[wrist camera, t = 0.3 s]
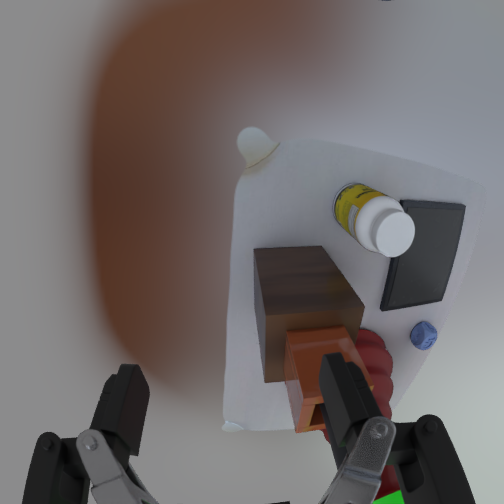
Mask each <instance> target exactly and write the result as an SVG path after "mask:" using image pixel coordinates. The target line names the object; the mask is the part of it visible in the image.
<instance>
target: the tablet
mask: <svg viewBox="0 0 504 504" xmlns="http://www.w3.org/2000/svg"><path fill="white" fill-rule="evenodd" d="M400 205H401V206H402V208H403V210H404V213H406V214H408V215H409V216H410V217H411V219H412V220H413V223H414V226H415V235H414V239H413V241H412V244H411V245H410V247H409V248H408V249H407V250H406V251H405V252H404V253H403V254H401V255H399V256H397V257H391V262H390V267H389V271H388V276H387V281H386V285H385V289H384V293H383V297H382V301H381V305H380V309H381V311H388V310H395V309H401V308H406V307H412V306H418V305H423V304H428V303H433V302H438V301H442V299H443V296H444V293H445V290H446V287H447V284H448V280H449V277H450V274H451V270H452V267H453V263H454V259H455V256H456V252H457V248H458V243H459V239H460V235H461V230H462V225H463V220H464V214H465V208H466V206H465V205H463V204H455V203H443V202H430V201H414V200H400Z"/></svg>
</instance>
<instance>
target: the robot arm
mask: <svg viewBox="0 0 504 504" xmlns="http://www.w3.org/2000/svg"><path fill="white" fill-rule="evenodd" d="M319 387H320V391H321V394H322V397H323V400H324V403H325V407H326V410H327V413H328V416H329V419H330V423H331V426H332V429H333V432H334V436H335V439H336V442H337V445H338V447H342V446H346V448H347V451H348V452H347V454H346V456H345V458H344V460H343V462H342V464H341V466H340V468H339V470H338V472H337V474H336V476H335V477H334V479H333V481H332V483H331V485H330V486H329V488H328V489H327V491H326V493H325V494H324V495H323V497H322V499H321V500H320V502H319V503H318V504H372V503H373V501H374V499H375V497H376V495H377V492H378V490H379V488H380V485H381V482H382V479H381V474H382V472H383V469H384V466H385V465H393V466H394V470H395V473H396V476H397V480H398V483H399V486H400V490H401V493H402V497H403V501H404V504H476V503H475V500H474V497H473V494H472V492H471V489H470V486H469V483H468V481H467V478H466V475H465V473H464V470H463V467H462V465H461V463H460V460H459V458H458V455H457V453H456V451H455V448H454V446H453V444H452V441H451V440H450V437H449V435H448V433H447V430H446V428H445V426H444V424H443V422H442V421H441V419H440V418H439V417H437V416H435V415H430V414H429V415H424V416H422V417H420V418H419V419H418V420H417V422H410V423H395V422H392V421H391V420H390V419H388V418H386V417H384V416H383V414H382V413H381V411H380V408H379V406H378V404H377V402H376V400H375V397H374V395H373V393H372V391H371V389H370V387H369V385H368V383H367V380H365V376H364V374H363V372H362V370H361V368H360V367H359V366H357V365H356V364H355V363H354V362H353V361H351V362H345V360H344V357H343V355H342V353H341V352H335V353H329V354H324V355H323V356H322V361H321V367H320V372H319ZM149 396H150V392H149V386H148V384H147V381H146V379H145V377H144V375H143V373H142V371H141V368H140V367H139V365H137V364H121V366H120V368H119V371H118V373H117V375H116V374H112V375H111V376H110V378H109V379H108V380H107V381H106V383H105V385H104V388H103V391H102V394H101V396H100V401H99V402H98V405H97V408H96V410H95V414H94V417H93V420H92V423H91V426H90V428H89V430H85V431H83V432H82V433H80V435H79V436H78V437H76V438H62V439H60V438H59V437H58V436H57V435H56V434H54V433H52V432H45V433H43V434H42V435H40V437H39V438H38V440H37V443H36V446H35V449H34V453H33V456H32V460H31V464H30V468H29V472H28V476H27V480H26V485H25V490H24V495H23V501H22V504H87V502H88V494H89V486H90V480H91V482H92V484H93V487H92V488H91V492H92V495H93V497H94V499H95V501H96V503H97V504H159V503H158V502H157V501H156V500H155V499H154V498H153V497H152V496H151V494H150V493H149V492H148V491H147V489H146V488H145V486H144V485H143V483H142V482H141V480H140V479H139V477H138V475H137V474H136V472H135V471H134V469H133V467H132V466H131V464H130V463H129V456H130V455H134V456H138V454H139V448H140V442H141V437H142V431H143V426H144V421H145V416H146V411H147V406H148V402H149ZM272 504H290V502H289V501H287V502H280V503H272Z"/></svg>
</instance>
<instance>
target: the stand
mask: <svg viewBox="0 0 504 504" xmlns="http://www.w3.org/2000/svg"><path fill="white" fill-rule="evenodd" d="M254 305H255V314H256V322H257V330H258V337H259V345H260V352H261V360H262V367H263V375H264V382H265V383H270V382H281V381H285V378H284V373H283V365H284V353H285V341H286V331H289V330H300V329H310V328H320V327H329V326H337V325H344V326H345V328H346V330H347V332H348V334H349V336H350V337H351V339H352V341H353V343H354V345H355V343H356V339H357V336H358V332H359V328H360V324H361V321H362V316H363V312H364V308H365V306H364V304H363V303H362V301H361V300H360V298H359V297H358V295H357V294H356V293H355V291H354V290H353V288H352V287H351V286H350V284H349V283H348V281H347V280H346V279H345V277H344V276H343V274H342V273H341V272H340V270H339V269H338V267H337V266H336V265H335V263H334V262H333V261H332V259H331V258H330V257H329V255H328V254H327V253H326V251H325V250H324V249H323V247H322V246H309V247H286V248H262V249H254Z"/></svg>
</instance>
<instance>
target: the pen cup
mask: <svg viewBox="0 0 504 504" xmlns="http://www.w3.org/2000/svg"><path fill="white" fill-rule="evenodd" d="M335 352H341V353H342V355H343V357H344V360H345V362H351V361H353V362H354V363H355V364H356V365H357V366H359V367H360V368H361V370H362V372H363V374H364V376H365V380H367V383H368V385H369V387H370V389H371V391H372V390H373V388H374V383H373V381H372V379H371V377H370V375H369V373H368V371H367V369H366V367H365V365H364V363H363V361H362V359H361V357H360V355H359V353H358V351H357V349H356V347H355V345H354V343H353V341H352V339H351V337H350V336H349V334H348V332H347V330H346V328H345V326H344V325H337V326H329V327H320V328H310V329H300V330H289V331H286V341H285V353H284V365H283V373H284V378H285V382H286V387H287V392H288V397H289V402H290V407H291V412H292V417H293V421H294V426H295V431H296V433H301V432H308V431H313V430H320V429H325V428H326V427H325V423H324V420H323V416H322V413H321V409H320V406H319V404H320V403H324V400H323V397H322V394H321V391H320V387H319V372H320V367H321V361H322V356H323V355H324V354H329V353H335Z"/></svg>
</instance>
